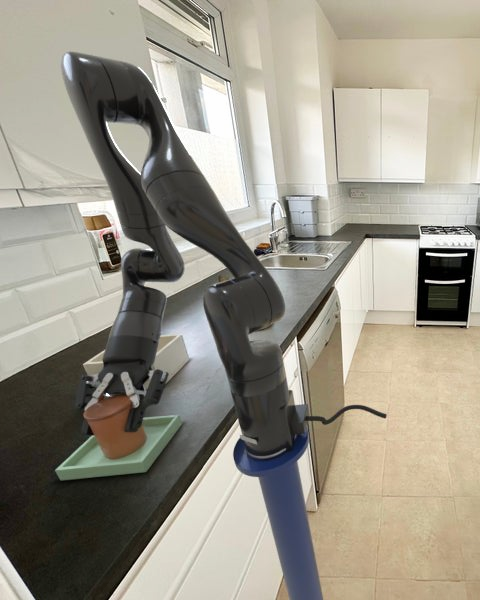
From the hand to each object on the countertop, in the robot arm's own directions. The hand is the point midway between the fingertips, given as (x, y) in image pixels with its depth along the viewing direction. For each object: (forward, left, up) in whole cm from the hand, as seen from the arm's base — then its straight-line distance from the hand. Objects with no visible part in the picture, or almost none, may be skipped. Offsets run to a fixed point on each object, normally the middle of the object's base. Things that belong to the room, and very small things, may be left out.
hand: (110, 433), depth 53 cm
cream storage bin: (+12, -27, -5) cm, 30 cm away
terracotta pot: (0, -2, -4) cm, 5 cm away
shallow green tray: (0, -2, -5) cm, 6 cm away
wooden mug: (-5, -53, -6) cm, 53 cm away
